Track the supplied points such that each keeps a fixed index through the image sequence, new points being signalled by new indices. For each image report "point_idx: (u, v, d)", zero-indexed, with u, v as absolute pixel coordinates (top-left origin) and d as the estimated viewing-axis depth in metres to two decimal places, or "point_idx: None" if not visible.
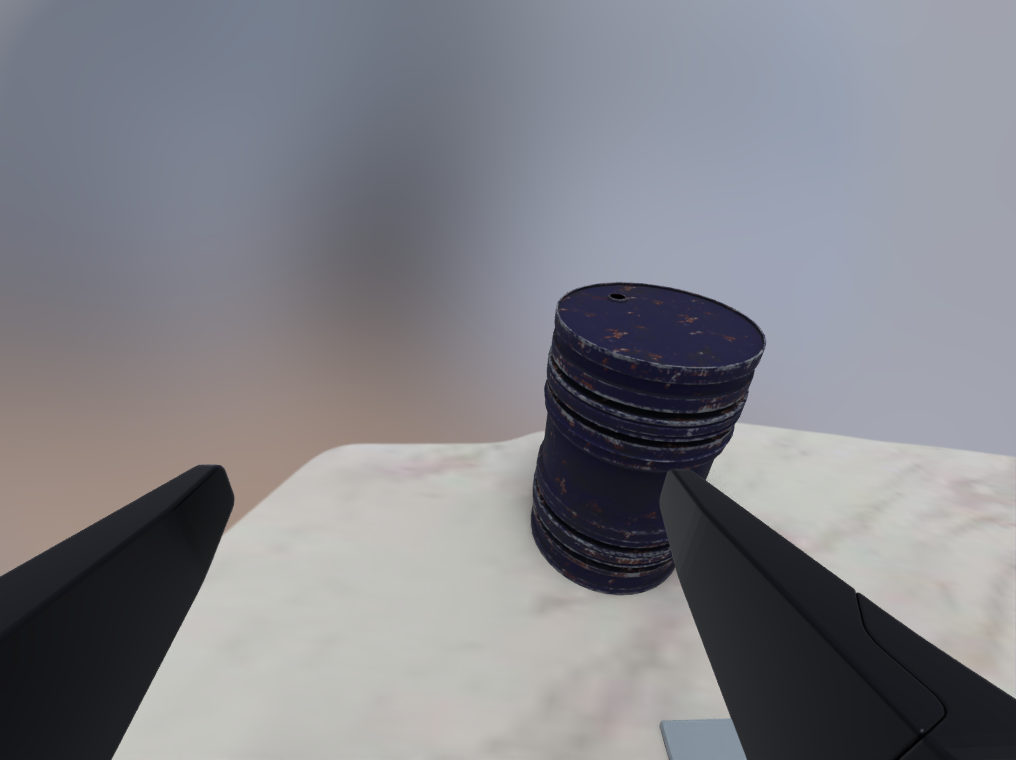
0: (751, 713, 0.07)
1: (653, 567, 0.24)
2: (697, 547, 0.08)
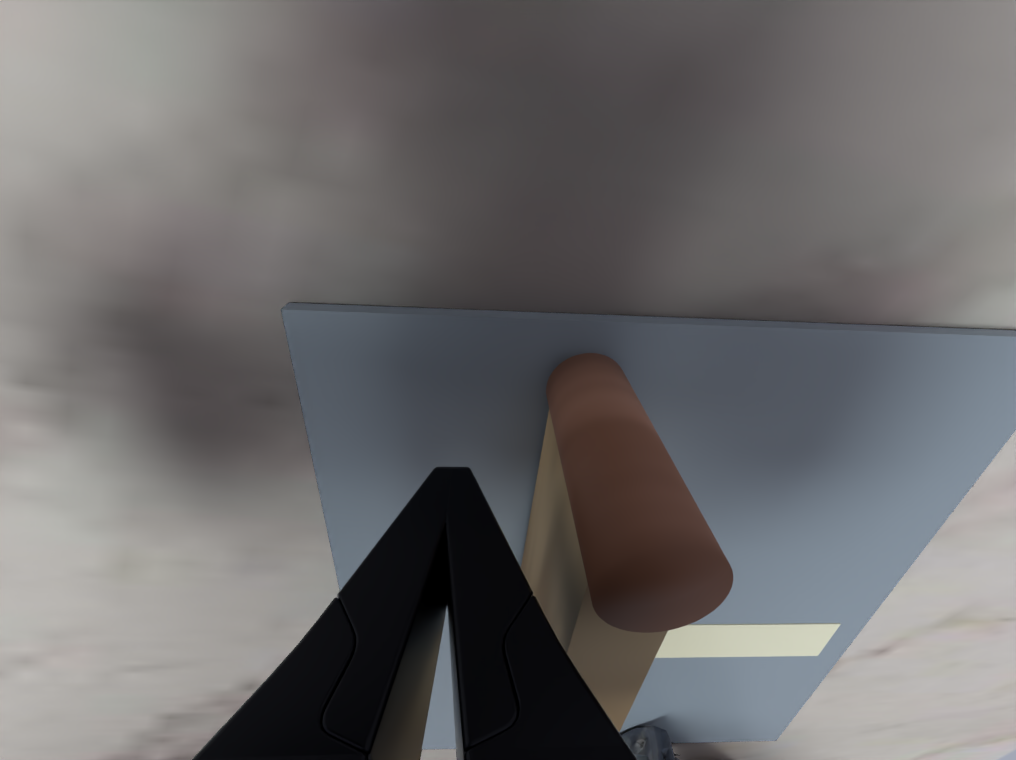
0: (455, 721, 0.06)
1: None
2: None
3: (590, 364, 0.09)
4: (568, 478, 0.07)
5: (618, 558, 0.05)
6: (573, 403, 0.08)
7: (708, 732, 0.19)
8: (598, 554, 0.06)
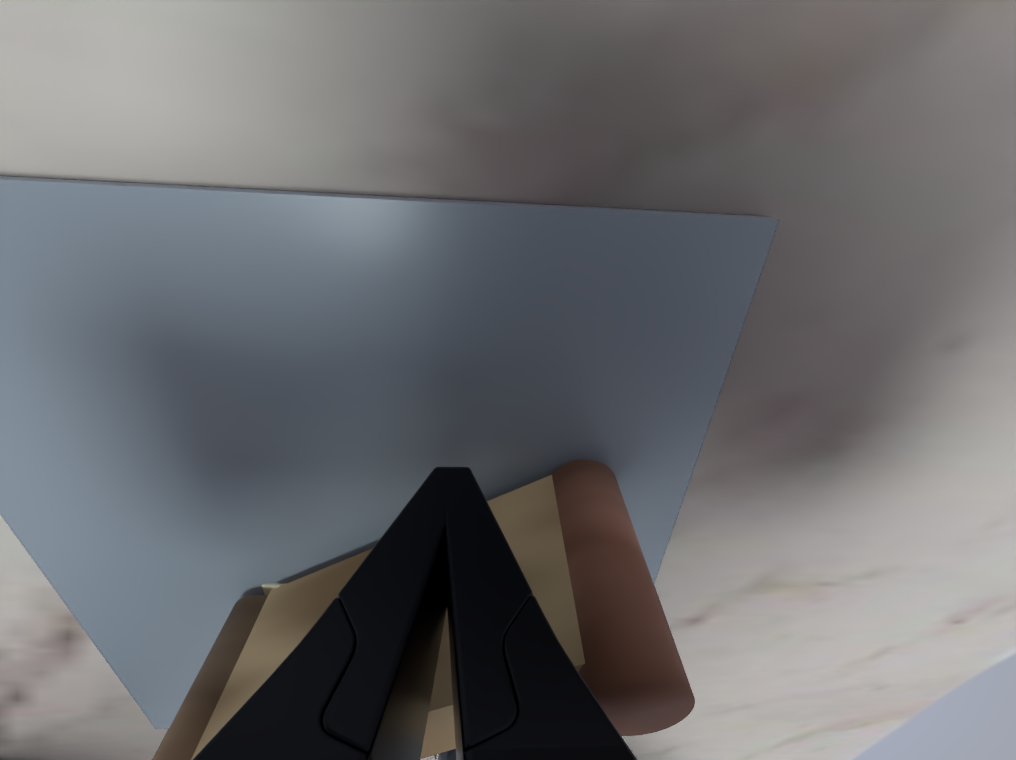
0: (454, 721, 0.06)
1: None
2: None
3: (615, 483, 0.11)
4: (594, 569, 0.08)
5: (654, 677, 0.07)
6: (607, 509, 0.10)
7: None
8: (634, 661, 0.07)
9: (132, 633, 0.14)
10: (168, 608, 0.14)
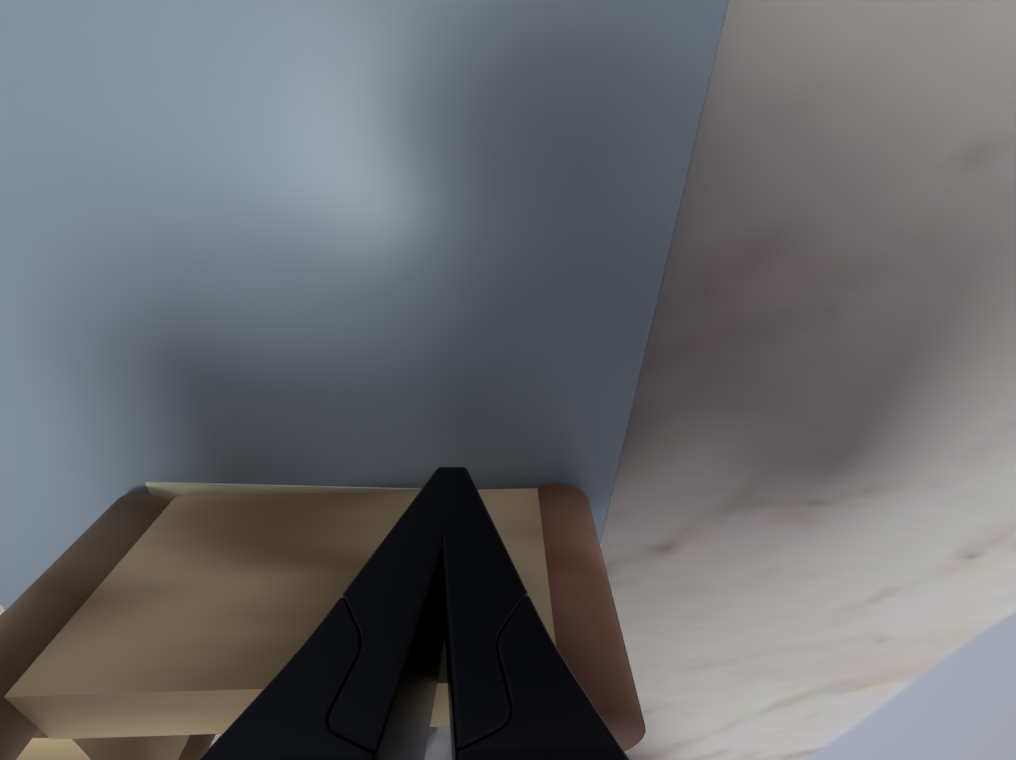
0: None
1: None
2: None
3: (592, 517, 0.11)
4: (578, 592, 0.09)
5: (626, 709, 0.07)
6: (591, 539, 0.10)
7: None
8: (611, 690, 0.07)
9: (5, 546, 0.12)
10: (40, 514, 0.12)
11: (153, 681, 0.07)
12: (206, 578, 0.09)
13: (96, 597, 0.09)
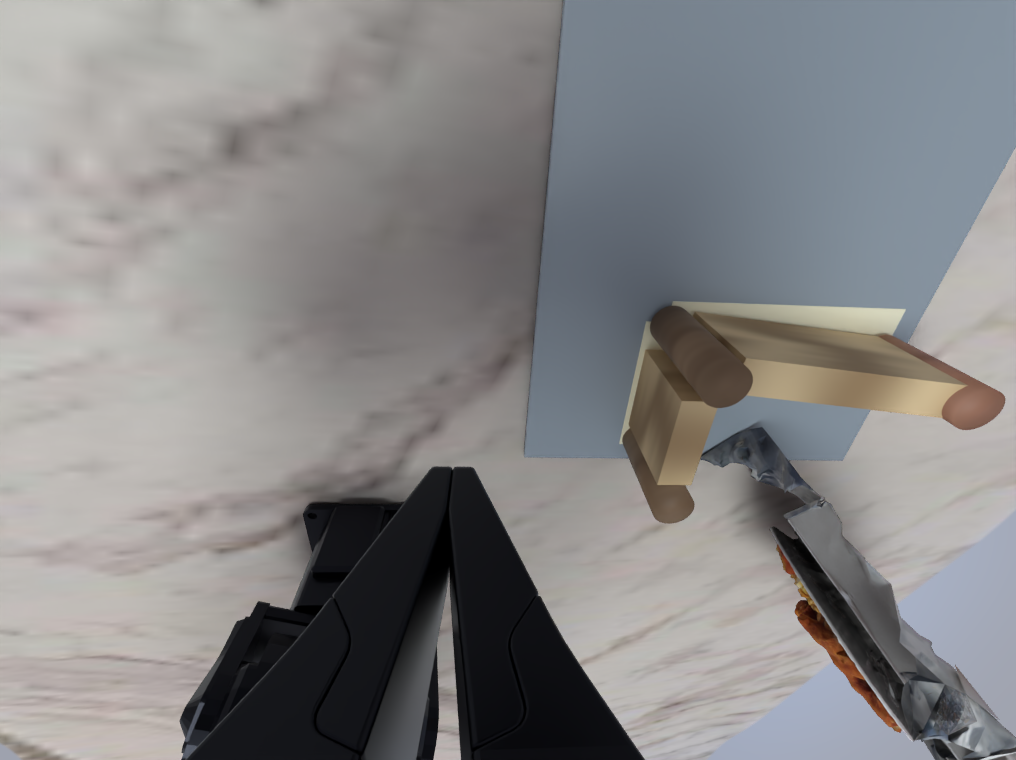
0: (459, 721, 0.06)
1: None
2: None
3: None
4: (948, 365, 0.18)
5: (1001, 396, 0.17)
6: None
7: (790, 446, 0.24)
8: (994, 389, 0.17)
9: (563, 350, 0.21)
10: (599, 325, 0.20)
11: (801, 363, 0.16)
12: (767, 340, 0.18)
13: (726, 338, 0.17)
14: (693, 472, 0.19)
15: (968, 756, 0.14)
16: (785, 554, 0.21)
